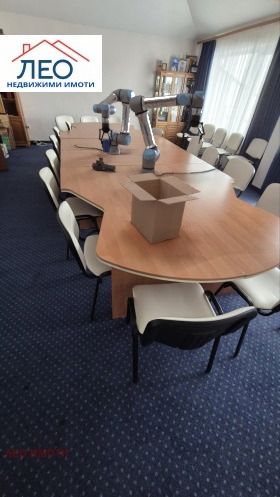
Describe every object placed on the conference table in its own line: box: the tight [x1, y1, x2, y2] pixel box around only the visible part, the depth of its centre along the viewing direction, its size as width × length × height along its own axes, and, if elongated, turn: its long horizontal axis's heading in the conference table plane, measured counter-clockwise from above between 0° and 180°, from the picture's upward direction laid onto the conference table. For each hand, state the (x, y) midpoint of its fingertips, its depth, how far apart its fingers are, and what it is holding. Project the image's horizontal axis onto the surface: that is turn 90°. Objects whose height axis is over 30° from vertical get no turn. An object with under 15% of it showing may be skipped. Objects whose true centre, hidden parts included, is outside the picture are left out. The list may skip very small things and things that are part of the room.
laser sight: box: [91, 157, 117, 173], centre depth 211 cm, size 10×22×10 cm, turn 78°
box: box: [117, 173, 201, 245], centre depth 124 cm, size 44×36×27 cm
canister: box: [102, 138, 110, 153], centre depth 226 cm, size 7×7×12 cm
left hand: (106, 147), depth 227 cm, fingers closed on canister, 7 cm apart
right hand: (190, 142), depth 191 cm, fingers open, 13 cm apart
